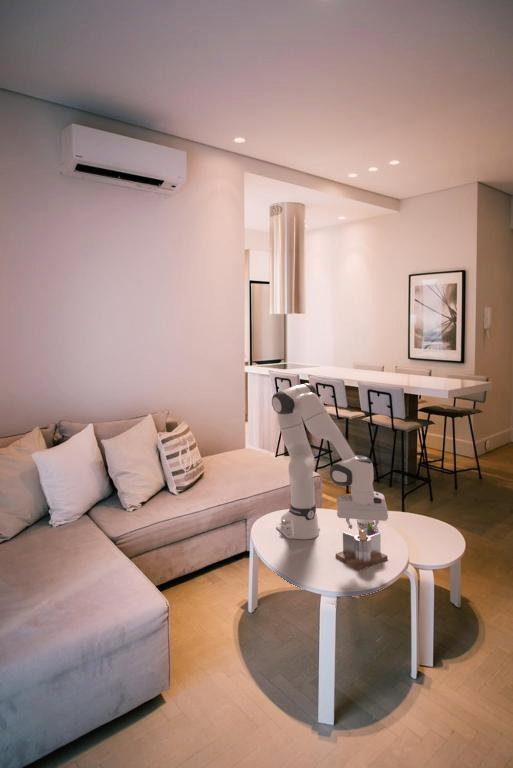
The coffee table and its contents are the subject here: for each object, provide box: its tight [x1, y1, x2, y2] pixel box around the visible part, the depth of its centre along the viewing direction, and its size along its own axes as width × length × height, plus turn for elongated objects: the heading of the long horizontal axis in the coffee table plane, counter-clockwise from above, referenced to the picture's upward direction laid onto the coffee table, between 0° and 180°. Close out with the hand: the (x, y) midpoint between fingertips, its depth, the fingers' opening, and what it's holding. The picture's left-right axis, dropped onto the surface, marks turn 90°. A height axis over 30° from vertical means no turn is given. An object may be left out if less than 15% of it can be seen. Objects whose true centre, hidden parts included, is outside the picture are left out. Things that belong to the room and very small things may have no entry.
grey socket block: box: [342, 531, 382, 563], centre depth 195 cm, size 13×13×9 cm
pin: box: [358, 528, 367, 540], centre depth 191 cm, size 3×3×12 cm
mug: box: [356, 519, 375, 525], centre depth 235 cm, size 12×8×10 cm
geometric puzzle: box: [364, 523, 380, 536], centre depth 214 cm, size 7×7×8 cm
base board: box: [335, 550, 388, 571], centre depth 195 cm, size 14×16×2 cm
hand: (362, 529), depth 190 cm, fingers open, 8 cm apart
